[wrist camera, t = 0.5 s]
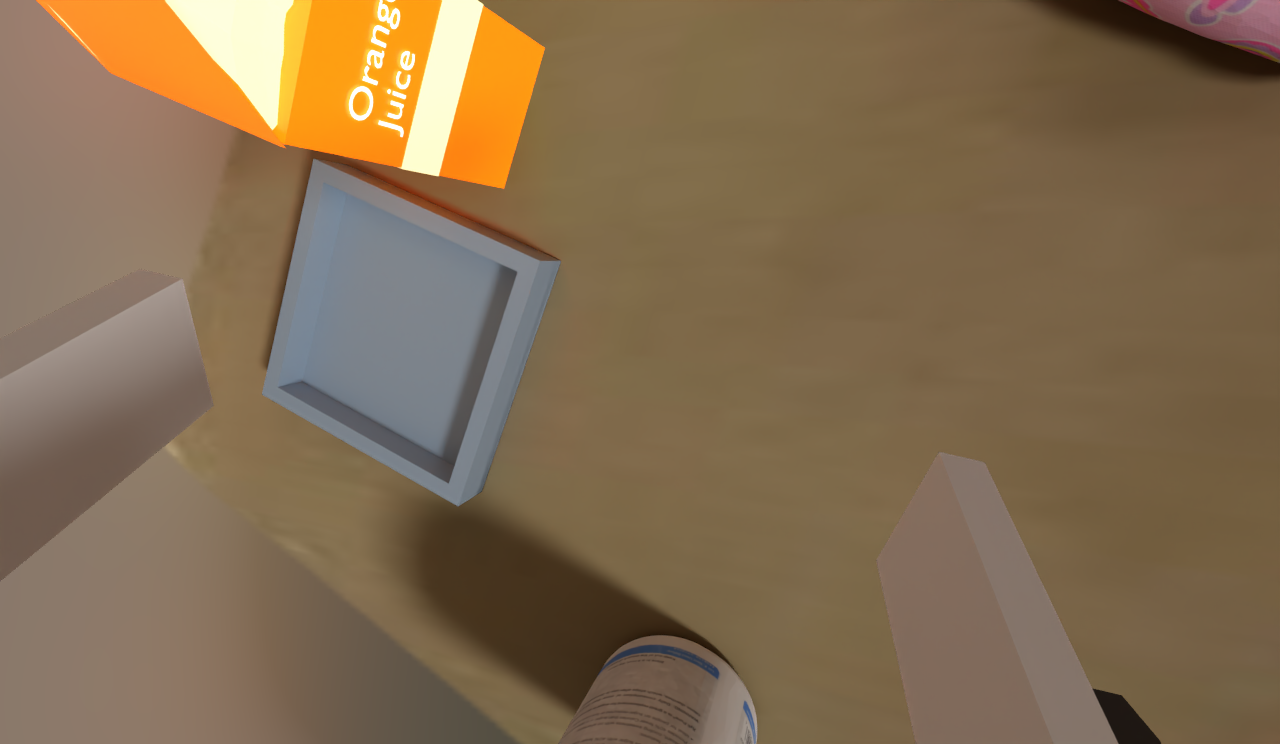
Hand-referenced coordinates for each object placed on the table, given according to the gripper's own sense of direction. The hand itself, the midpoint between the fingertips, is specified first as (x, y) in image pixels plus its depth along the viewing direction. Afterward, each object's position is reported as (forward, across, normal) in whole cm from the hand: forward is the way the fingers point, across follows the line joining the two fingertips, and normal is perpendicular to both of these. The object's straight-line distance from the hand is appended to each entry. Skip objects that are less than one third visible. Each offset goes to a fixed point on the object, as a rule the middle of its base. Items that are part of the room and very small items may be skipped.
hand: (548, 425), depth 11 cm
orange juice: (+28, -12, -1) cm, 30 cm away
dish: (+23, -13, -14) cm, 30 cm away
